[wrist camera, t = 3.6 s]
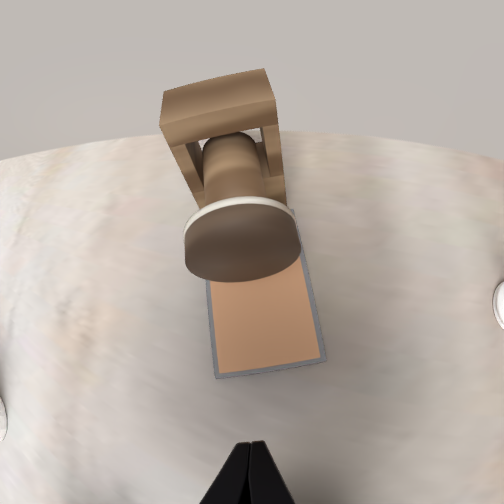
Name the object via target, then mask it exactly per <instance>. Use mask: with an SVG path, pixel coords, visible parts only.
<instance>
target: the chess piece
mask: <svg viewBox="0 0 504 504" xmlns="http://www.w3.org/2000/svg"><path fill="white" fill-rule="evenodd" d="M493 309H494V314H495V317H496V319H497V321H498V323H499V325H500V326H501V327H502V328H503V329H504V282H502V283H501V284H500V285H499V286H498V287H497V288H496V290H495V293H494V297H493Z"/></svg>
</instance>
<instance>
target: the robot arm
mask: <svg viewBox="0 0 504 504" xmlns="http://www.w3.org/2000/svg"><path fill="white" fill-rule="evenodd" d="M199 504H296V503H295V502H294V500H293V498H292V496H291V494H290V492H289V490H288V488H287V486H286V484H285V482H284V480H283V478H282V476H281V474H280V472H279V470H278V468H277V466H276V464H275V462H274V460H273V458H272V456H271V454H270V452H269V449H268V447H267V445H266V443H265V441H263V440H261V441H253V442H251V443H250V442H241V443H237V444H236V445H235V447H234V449H233V450H232V452H231V454H230V455H229V457H228V459H227V460H226V462H225V464H224V465H223V467H222V469H221V470H220V472H219V474H218V475H217V477H216V478H215V480H214V482H213V483H212V485H211V486H210V488H209V490H208V491H207V493H206V494H205V496H204V497H203V499H202V500H201V502H200V503H199Z"/></svg>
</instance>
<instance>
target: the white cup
mask: <svg viewBox="0 0 504 504" xmlns="http://www.w3.org/2000/svg"><path fill="white" fill-rule="evenodd" d="M6 431H7V416H6V412H5V407H4V404H3V402H2V400H1V398H0V442H1V441H2V440H3V439H4V437H5V434H6Z"/></svg>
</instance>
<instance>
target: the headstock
mask: <svg viewBox="0 0 504 504" xmlns="http://www.w3.org/2000/svg"><path fill="white" fill-rule="evenodd" d="M159 126H160V128H161V131H162V132H163V135H164V137H165V139H166V141H167V143H168V145H169V147H170V149H171V151H172V153H173V155H174V158H175V160H176V162H177V164H178V166H179V168H180V170H181V172H182V174H183V176H184V178H185V180H186V182H187V184H188V186H189V188H190V190H191V192H192V194H193V196H194V198H195V200H196V202H197V204H198V206H199V208H200V209H202V208H203V207H205V194H204V175H203V154H202V150H201V148H200V145H199V143H198V141H199V140H203V139H207V138H212V137H216V136H221V135H225V134H230V133H234V132H239V131H244V130H249V129H255V128H260V132H261V137H262V142H258V143H255V144H256V148H257V152H258V157H259V162H260V166H261V171H262V176H263V181H264V186H265V190H266V195H267V198H269V199H272V200H275V201H278V202H280V203H282V204H284V205H285V206H287V203H286V192H285V182H284V172H283V162H282V153H281V143H280V135H279V126H278V118H277V109H276V102H275V97H274V94H273V92H272V89H271V86H270V83H269V81H268V78H267V75H266V72H265V70H264V68H263V69H257V70H252V71H246V72H241V73H236V74H231V75H226V76H222V77H217V78H213V79H208V80H204V81H200V82H196V83H193V84H188V85H185V86H181V87H177V88H174V89H171V90H167V91H164V94H163V101H162V109H161V115H160V124H159Z"/></svg>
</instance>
